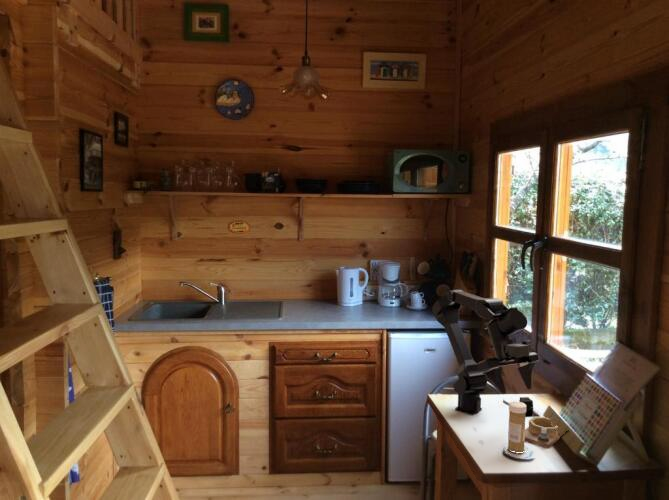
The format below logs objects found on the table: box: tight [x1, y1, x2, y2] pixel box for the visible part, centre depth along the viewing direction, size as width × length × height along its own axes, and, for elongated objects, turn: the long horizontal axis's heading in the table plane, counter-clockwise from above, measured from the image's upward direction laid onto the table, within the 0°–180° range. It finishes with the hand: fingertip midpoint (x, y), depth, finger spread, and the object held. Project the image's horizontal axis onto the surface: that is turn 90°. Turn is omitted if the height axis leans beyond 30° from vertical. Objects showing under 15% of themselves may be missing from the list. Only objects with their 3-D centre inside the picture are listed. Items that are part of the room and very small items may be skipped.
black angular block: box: [518, 396, 541, 418], centre depth 182 cm, size 12×7×5 cm, turn 5°
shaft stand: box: [524, 416, 560, 449], centre depth 165 cm, size 9×16×4 cm, turn 138°
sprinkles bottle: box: [507, 400, 526, 453], centre depth 154 cm, size 5×5×13 cm
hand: (517, 391), depth 161 cm, fingers open, 9 cm apart
